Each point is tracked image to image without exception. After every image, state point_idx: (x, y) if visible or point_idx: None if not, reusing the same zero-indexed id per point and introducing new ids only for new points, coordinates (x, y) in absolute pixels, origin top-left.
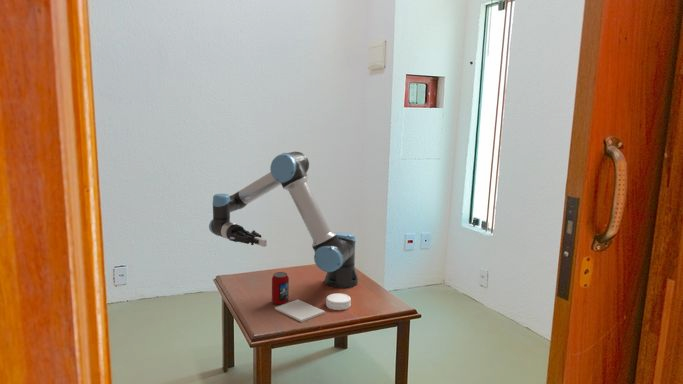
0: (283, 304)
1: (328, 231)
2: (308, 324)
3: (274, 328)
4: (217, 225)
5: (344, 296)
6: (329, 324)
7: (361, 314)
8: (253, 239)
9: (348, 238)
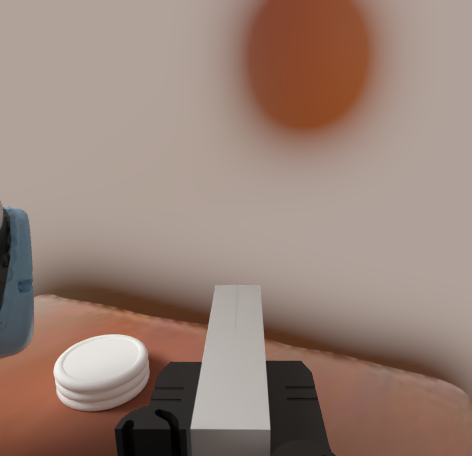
0: None
1: None
2: (284, 355)
3: (391, 386)
4: None
5: (77, 354)
6: None
7: (131, 325)
8: (315, 428)
9: None
